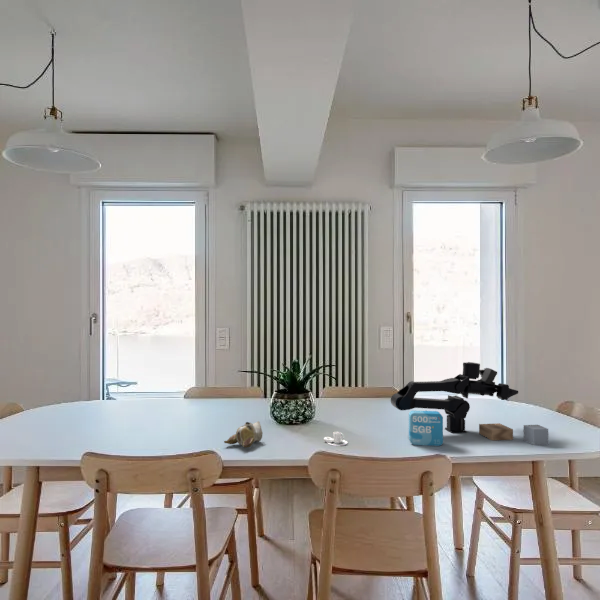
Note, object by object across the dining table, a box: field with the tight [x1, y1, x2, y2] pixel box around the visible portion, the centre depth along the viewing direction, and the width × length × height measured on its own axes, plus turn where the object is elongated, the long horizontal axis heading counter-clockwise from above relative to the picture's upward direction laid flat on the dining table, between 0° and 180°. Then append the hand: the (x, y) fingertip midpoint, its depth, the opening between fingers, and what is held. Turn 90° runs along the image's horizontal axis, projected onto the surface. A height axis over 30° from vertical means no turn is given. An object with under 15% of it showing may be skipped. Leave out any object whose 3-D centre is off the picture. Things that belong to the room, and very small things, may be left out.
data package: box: [408, 410, 444, 447], centre depth 169 cm, size 12×4×12 cm, turn 84°
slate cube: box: [523, 424, 549, 446], centre depth 172 cm, size 6×6×6 cm
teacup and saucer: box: [323, 431, 349, 447], centre depth 170 cm, size 9×8×4 cm
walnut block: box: [478, 422, 514, 441], centre depth 179 cm, size 9×9×4 cm
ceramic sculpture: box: [223, 420, 263, 449], centre depth 167 cm, size 11×9×15 cm
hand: (511, 390), depth 191 cm, fingers open, 9 cm apart
